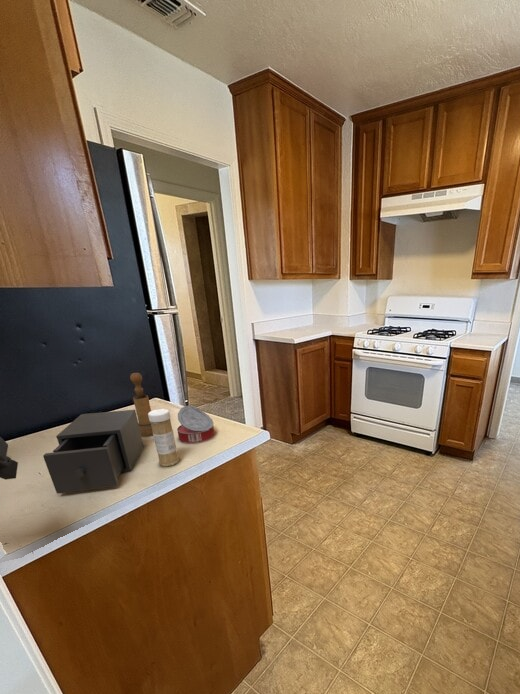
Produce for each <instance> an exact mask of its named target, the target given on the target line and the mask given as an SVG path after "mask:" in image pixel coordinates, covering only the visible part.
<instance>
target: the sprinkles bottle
mask: <svg viewBox="0 0 520 694" xmlns="http://www.w3.org/2000/svg"><path fill="white" fill-rule="evenodd" d="M148 417H149V421H150V423H151V426H152V430H153V435H152V436H153V440H154V441H153V442H154V445H155V448H156V450H155V451H156V453H157V457H158V460H159V461H158V462H159V466H162V467H171V466H174V465H176V464H178V463H179V461H180V459H179V455H178V452H177V443H176V439H175V434H174V429H173V427H172V421H171V411H170V410H169V409H167V408H158V409H153V410H151V412H149V413H148Z"/></svg>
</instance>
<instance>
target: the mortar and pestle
mask: <svg viewBox="0 0 520 694" xmlns="http://www.w3.org/2000/svg"><path fill="white" fill-rule="evenodd" d="M129 379H130V381H131V382H132V384H133V385H134V388H133V390H134V393H135V394H136V395H135V396H133V397H132V400H133V405H134V409H135V411H136V415H137V419H138V424H139V428H140V432H141V436H142V438H143V437H144V438H145V437H151V436H153V430H152V426H151V423H150V421H149V417H148V413H149V412H151V411H152V409H151V403H150V400H149V399H150V398H149V395H147V394H144V388H143V387H142V381H143V376H142V374H141V373H140V372H133V373H130V376H129Z"/></svg>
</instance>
